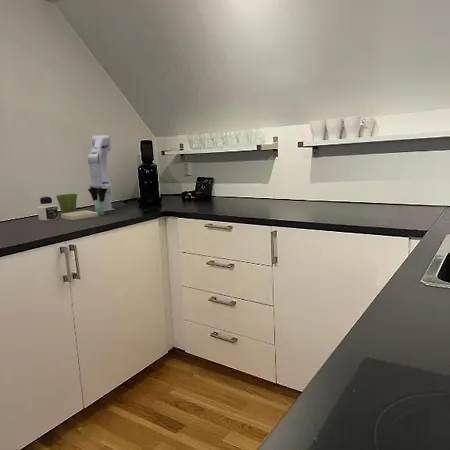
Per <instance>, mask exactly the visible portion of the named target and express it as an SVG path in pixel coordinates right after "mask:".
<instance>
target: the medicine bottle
mask: <svg viewBox="0 0 450 450" xmlns="http://www.w3.org/2000/svg"><path fill="white" fill-rule="evenodd" d="M53 201H54V200H53V197H52V196H42V197H40V199H39V202H40V206H37V207H36V208H37V216H38V220H39V221H44V222H45V221H46V222H48V221H53V220H58V219H59V212H58V205H55V204H54V202H53Z"/></svg>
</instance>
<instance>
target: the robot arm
mask: <svg viewBox="0 0 450 450" xmlns="http://www.w3.org/2000/svg"><path fill="white" fill-rule="evenodd" d="M91 145H92V148H91V150H90V153H89V154H87V164H88V167H89V173H90V181H91V182H90V183H89V184H88V189H87V190H88V192H89V193H90V195H91V199H92V202H94V200H100V202H103V203H104V212H108V211H109V212H110V211H113V210H114V211H115V208H113V207H112V199H111V195H112V194H113V191H114V189H113V182H112V180H110V179H109V178H108V153H109V152H110V151H111V147H112V145H111V137H110V135H109V134H106V135H105V134H104V135H102V134H101V135H92V137H91Z"/></svg>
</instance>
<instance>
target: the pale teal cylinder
mask: <svg viewBox="0 0 450 450" xmlns="http://www.w3.org/2000/svg"><path fill="white" fill-rule="evenodd" d="M93 203H94V212H98V216H104V215H105V213H106V212H105V211H104V203H103V202H100V200H94V201H93Z"/></svg>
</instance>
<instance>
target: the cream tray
mask: <svg viewBox="0 0 450 450" xmlns="http://www.w3.org/2000/svg"><path fill="white" fill-rule="evenodd" d="M98 217H99V215H98V212H95V211H92V210H79V211H77V210H76V212H70V213H64V214H62V213H60V219H61V220H66V221H72V222H73V221H80V220H86V219H93V218H98Z"/></svg>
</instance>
